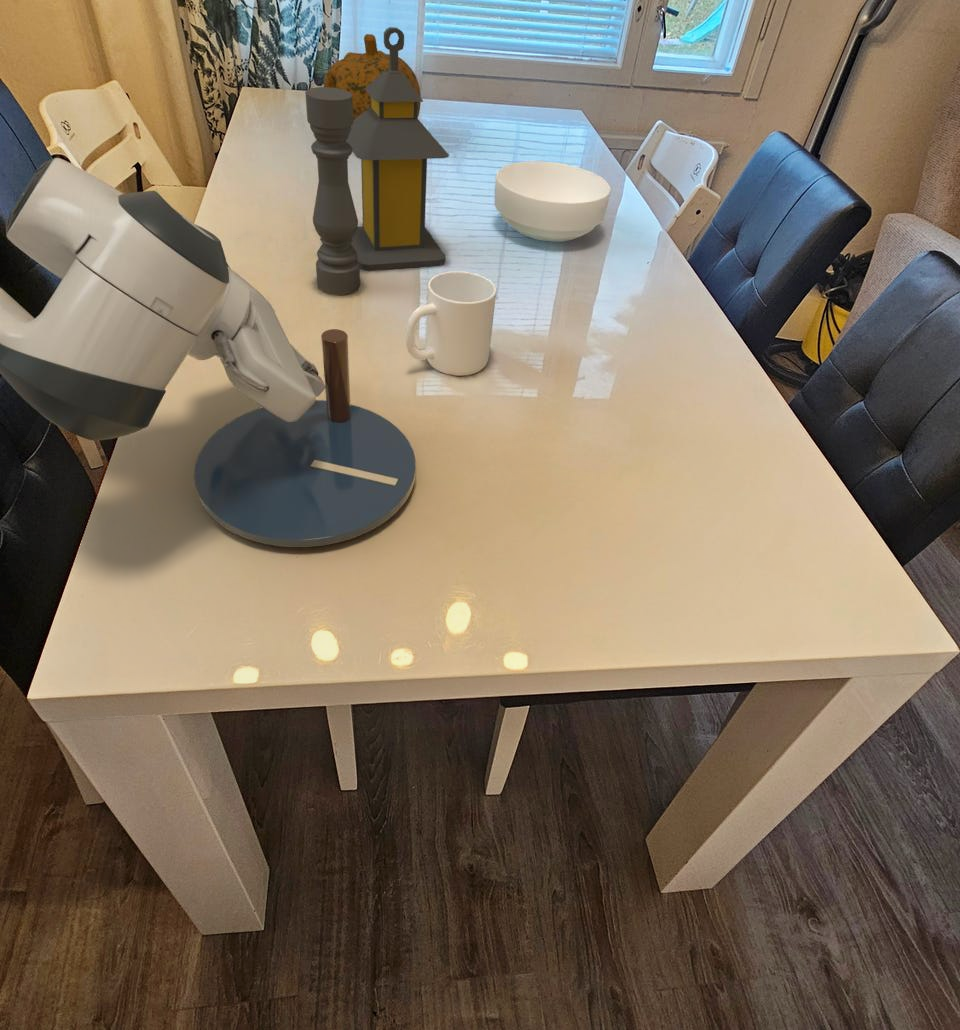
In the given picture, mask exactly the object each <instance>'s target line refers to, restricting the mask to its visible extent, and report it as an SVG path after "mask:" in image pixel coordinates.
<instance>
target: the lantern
mask: <svg viewBox="0 0 960 1030" xmlns="http://www.w3.org/2000/svg"><path fill="white" fill-rule="evenodd" d="M393 34H397V37H398V39H397V42H396V43H395V44H391V40H390V38H391V35H393ZM383 45H384V48H385V49H386V50H389V54H390V69H386V70H384V71H383V72H382V73H381V74H380V75H379V76H378V77H377V78H376V79H375V80H374V81H373V82H371V83H370V84H369V85H368V86H367V87H366V88H365V90H366V91H367V92H368V93H369V95H370V96H371V107H370V108H368V109H367V110H366V111H365V112H363V113H362V114H361V115H360V116H358V117H357V118H356V119H355V120H353V124H352V126H351V132H350V133H349V136H348V139H347V143H349V144H350V145H351V147H352V154H354V156H355V157H356V158H357V159H359V160H360V162H361V163H360V165H361V166H360V167H361V203H362V205H361V206H362V207H361V208H362V209H361V210H362V226H358V227H357V230H356V232H355V234H354V236H353V237H352V240H353V241H352V242H351V245H352V246H353V248H354V249H355V250H356V252H357V255H358V256H357V258H356V260H358V262H359V265H360V270H362V271H365V272H366V271H368V272H371V271H385V270H386V271H387V270H397V269H398V270H399V269H412V268H414V269H415V268H425V267H441V266H443V265H445V263H446V254H445V253H444V251H443V250H442V248H441V247H440V246H439V245H438V243H437V242H436V239H434V237H433V236H432V234H431V233H430V231H429V230H428V229H427V228H426V206H427V205H426V202H427V200H426V199H427V175H428V174H427V172H428V160H430V159H448V158H449V156H450V154H449V153H448V152H447V151H446V150H445V148H444V147H443V146H442V145H441V143H439V142H438V140H437V139H436V138H435V137H434V135H433V134H431V132H430V130H428V129H427V128H426V127H425V125H424V124H423V123H422V122H421V121H420V120H419V117H418V118H417V102H421V103H423V102H424V100H423V98H422V97H420V96H419V95H418V93H417V92H416V91H415V89H414V88H413V87H412V85H411V84H410V83H409V81H408V80H407V79H406V77H405V76H404V75H403V73H402V72H401V71H400V70H398V57H399V52H400V51H402V50H403V49H404V47H405V34H404V32H403V31H402V30H401V29H399V28H398V27H393V26H391V27H390V26H389V27H387V28H386V29H385V30H384V32H383Z"/></svg>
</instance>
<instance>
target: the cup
mask: <svg viewBox="0 0 960 1030" xmlns="http://www.w3.org/2000/svg"><path fill="white" fill-rule="evenodd" d="M496 299H497V287H496V285H495V283H494V282H493V281H492V280H491V279H489V278H488V277H485V276H483V275H481V274H478V273H474V272H470V271H461V270H460V271H458V270H457V271H446V272H441V273H438V274H435V275H434V276H433V277H431V278H430V279H429V281H428V283H427V301H426V304H424V305H420V306H419V307H417V308H415V309H414V310H413V311H412V312H411V314H410V316H409V319H408V322H407V325H406V331H405V345H406V349H407V352H408V354H409V355H410V356H411V357H412V358H414V359H416V360H419V361H420V360H427V362H428V363H429V365H430V366H431V367H432V368H433V369H434V370H436V371H438V372H440V373H442V374H446V375H451V376H456V377H457V376H458V377H459V376H463V377H464V376H470V375H471V376H472V375H475V374H477V373H479V372H480V371H482V370H483V369H484V368H485V367H486V365H487V364H488V361H489V358H490V352H491V342H492V334H493V324H494V316H495V308H496ZM423 317H426V327H425V348H423V349H418V348H417V346H416V340H415V339H416V338H415V336H416V330H417V326H418V323H419V321H420V319H422V318H423Z"/></svg>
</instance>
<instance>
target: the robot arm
mask: <svg viewBox="0 0 960 1030" xmlns="http://www.w3.org/2000/svg"><path fill="white" fill-rule="evenodd" d="M5 228H6V229H5V234H6V238H7V240H8V241H10V242H11V243H12V244H13V245H14V246H15V247H17V248H18V249H19V250H20V251H22V252H23V253H24V254H26V255H27V256H28V257H29V258H31V259H32V260H33V261H35V262H36V263H38V265H40V266H42V267H43V268H45V270H47V271H48V272H50V273H51V274H53V275H54V276H55V277H57V278H59V280H61V281H60V283H59V284H58V286H57V287H56V289H55V290H54V292H53V293H52V295H51V296H50V298H49V299H48V301H47V303H46V304H45V306H44V308H43V309H42V311H41V312H40V313H39V315H37V316H36V317H34V316H32V315H31V314H30V313H29V312H28V311H27V310H26V309H25V308H24V307H23V306H22V305H20V303H18V302H17V301H16V300H15V299H14V298H13V297H12V296H11V295H9V293H7V292H6V291H5V290H4V289H3V288H2V287H0V375H1V376H2V377H3V379H4V380H5V381H6V382H7V383H8V384H9V385H10V386H11V387H12V389H13V390H14V391H15V392H16V393H17V394H18V395H19V396H20V397H21V398H22V399H23V400H24V401H25V402H26V403H27V404H28V405H29V406H31V407H32V408H33V409H34V410H36V411H37V412H38V413H39V414H40V415H41V416H43V418H45V419H46V420H47V421H49V422H51V423H52V424H54V425H56V426H58V427H59V429H60V428H61V429H63V430H64V431H66V432H69V433H71V434H73V435H75V436H77V437H80V438H82V439H85V440H89V441H94V442H99V441H106V440H112V439H118V438H121V437H125V436H130V435H132V434H135V433H137V432H139V431H141V430H144V429H146V428H148V427H149V425H150V423H151V421H152V419H153V418H154V416H155V414H156V412H157V410H158V408H159V406H160V404H161V403H162V400H163V399H164V396H165V394H166V393H167V390H166V388H167V387H168V386H169V384H170V383H171V381H172V379H173V378H174V376H175V375H176V374H177V372H178V370H179V368H180V367H181V366H182V364H183V362H184V361H185V360H186V358H187V356H189V357H191V358H193V359H194V360H196V361H206V360H210V359H211V358H213V357H217V358H219V360H220V362H221V364H222V367H223V368H224V371H225V374H226V376H227V379H228V381H229V382H230V383H231V385H233V387H234V388H236V389H237V390H238V391H239V392H240V393H241V394H242V395H244V396H245V397H247V398H248V399H250V400H251V401H252V402H254V403H256V404H257V405H259V406H260V407H261V408H262V407H263V408H265V409H266V410H268V411H269V412H271V413H273V414H274V415H276V416H277V417H279V418H281V419H282V420H284V421H286V422H296V421H298V420H299V419H300V418H301V417H302V416H303V415H304V414H305V413H306V412H307V411H308V409H309V408H310V407H311V406H312V405H313V404H314V402H315V401H316V400H317V397H319V396H320V395H321V394H322V393H323V392H324V391H325V381H324V380H323V379H322V377H321V376H319V371H318V369H317V367H316V365H315V364H314V363H313V362H311V361H310V360H309V359H307V358H305V357H304V355H302V353H301V352H300V351H298V349H297V348H296V347H295V346H294V345H292V343H291V342H290V341H289V338H288V336H287V335H286V332H285V330H284V328H283V327H282V325H281V322H280V320H279V319H278V316H277V315H276V312H275V310H274V308H273V305H272V304H271V303H270V302H269V300H268V299H267V298H266V297H265V296H264V295H263V294H262V293H261V292H260V291H259V290H258V289H257V288H255V287H254V286H253V285H252V284H251V283H249V282H248V281H247V280H246V279H244V278H243V277H242V276H241V275H240V274H239V273H237V272H236V271H235V270H234V269H233V268H231V267H230V265H229V264H228V262H227V258H226V254H225V251H224V248H223V245H222V241H221V240H220V239H219V237H218V236H216V235H215V234H213V233H212V232H210V231H209V230H207V229H205V228H203V227H202V226H199V225H197V224H195V223H194V222H192V221H191V220H189V219H188V218H187V217H185V216H184V215H183V214H182V213H180V212H179V211H177V209H175V208H174V207H172V206H171V204H169V202H167V201H166V200H165V199H164V198H163V196H162V195H160V194H159V192H158V191H157V190H147V191H136V192H127V193H123V192H122V191H120V190H119V189H117V188H115V187H114V186H112V185H111V184H109V183H107V182H105V181H104V180H102V179H101V178H98V177H97V176H96V175H93V174H91V173H90V172H88V171H86V170H85V169H82V168H81V167H79V166H77V165H75V164H73V163H71V162H69V161H67V160H65V159H63V158H60V157H54V158H51V159H49V160H45V162H43V163H42V164H41V165H40V166H38V168H37V169H36V170H35V173H34V175H33V176H32V177H31V179H30V180H29V182H28V183H27V184H26V187H25V188H24V190H23V191H22V193H21V195H20V196H19V197H18V199H17V201H16V202H15V204H14V206H13V208H12V210H11V211H10V213H9V214H8V216H7V218H6V222H5Z"/></svg>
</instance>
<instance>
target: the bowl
mask: <svg viewBox="0 0 960 1030" xmlns="http://www.w3.org/2000/svg"><path fill="white" fill-rule="evenodd" d="M494 181H495V182H494V183H495V184H494V197H493V198H494V201H493V203H494V207H495V209H496V210H497V211H498V212H499V214H500V216H501V218H502V220H503V221H504V222H505V223H506V224H507V225H508V226H509V227H511V229H513V230H515V232H517V233H518V234H521V235H522V236H525V237H527V238H530V239H534V240H538V241H543V242H552V243H553V242H554V243H560V242H561V243H562V242H568V241H569V242H570V241H572V240H575V239H578V238H580V237H582V236H585V235H587V234H589V233H590V232H592V231H593V230H594V228H595V227H596V226H598V225H600V224H601V223H602V222H603V220H604V218H605V215H606V212H607V208H608V206H609V205H608V204H609V200H610V196H611V192H612V191H611V186H610V184H609V182H608V181H607V180H605V179H604V178H603V177H602V176H600V175H598V174H597V173H595V172H592V171H590V170H587V169H584V168H581V167H578V166H574V165H571V164H566V163H561V162H555V161H541V160H529V161H528V160H527V161H518V162H514V163H513V162H512V163H510V164H506V165H503V166H502V167H500V168H499V169H498V170H497V172H496V174H495V180H494Z"/></svg>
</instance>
